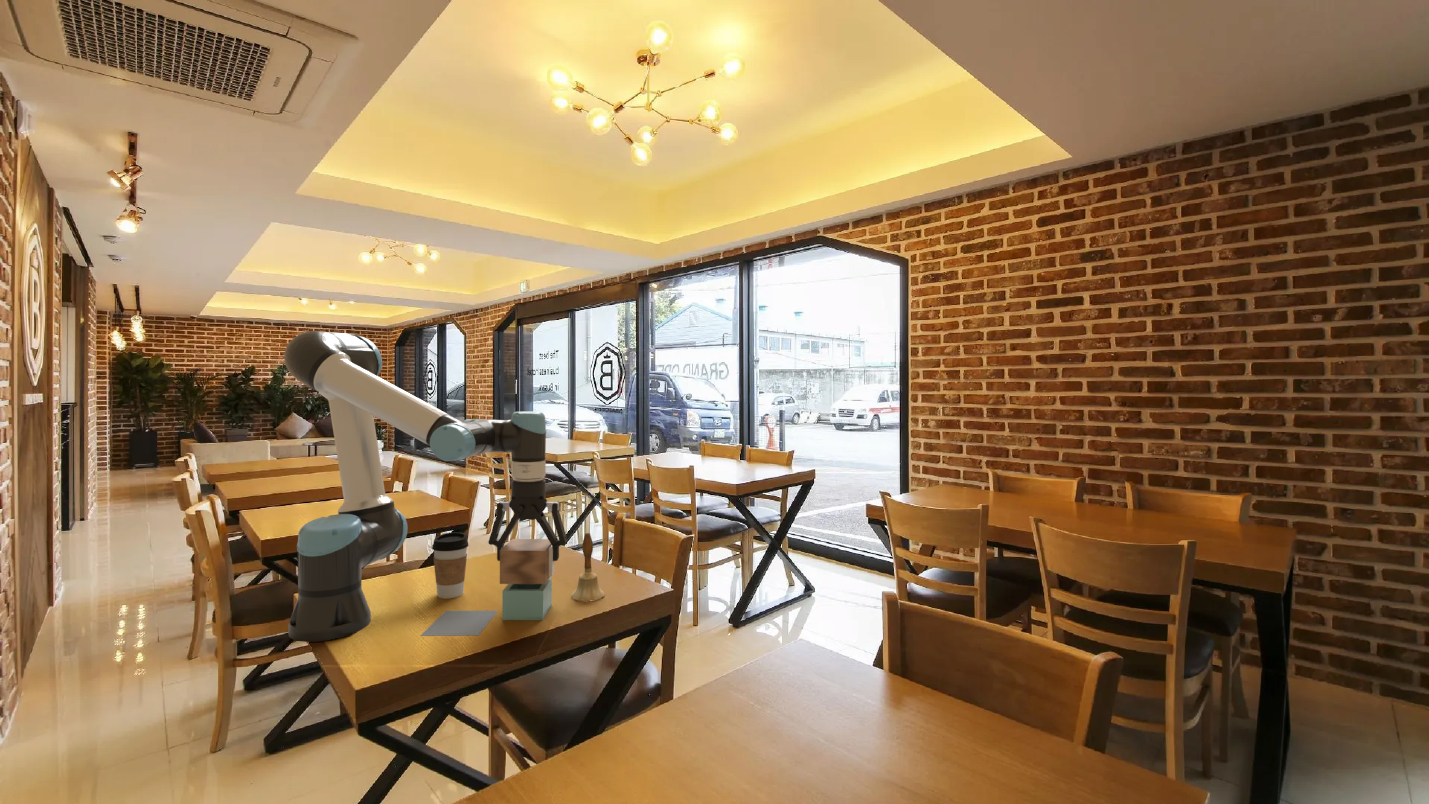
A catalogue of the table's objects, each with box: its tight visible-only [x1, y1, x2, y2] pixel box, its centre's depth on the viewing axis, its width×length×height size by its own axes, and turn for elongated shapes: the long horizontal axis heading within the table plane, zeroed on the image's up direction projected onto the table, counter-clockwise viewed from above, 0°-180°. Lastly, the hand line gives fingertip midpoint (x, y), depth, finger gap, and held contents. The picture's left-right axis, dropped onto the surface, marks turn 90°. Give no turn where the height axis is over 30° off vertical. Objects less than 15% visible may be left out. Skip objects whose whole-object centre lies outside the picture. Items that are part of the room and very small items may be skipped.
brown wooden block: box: [499, 538, 551, 585], centre depth 144 cm, size 10×10×8 cm
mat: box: [419, 610, 499, 637], centre depth 138 cm, size 12×14×1 cm
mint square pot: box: [501, 577, 553, 621], centre depth 145 cm, size 9×9×7 cm
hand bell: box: [570, 532, 605, 602], centre depth 157 cm, size 8×8×16 cm
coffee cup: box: [431, 531, 470, 600], centre depth 156 cm, size 8×8×15 cm
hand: (528, 574), depth 145 cm, fingers closed on brown wooden block, 10 cm apart
